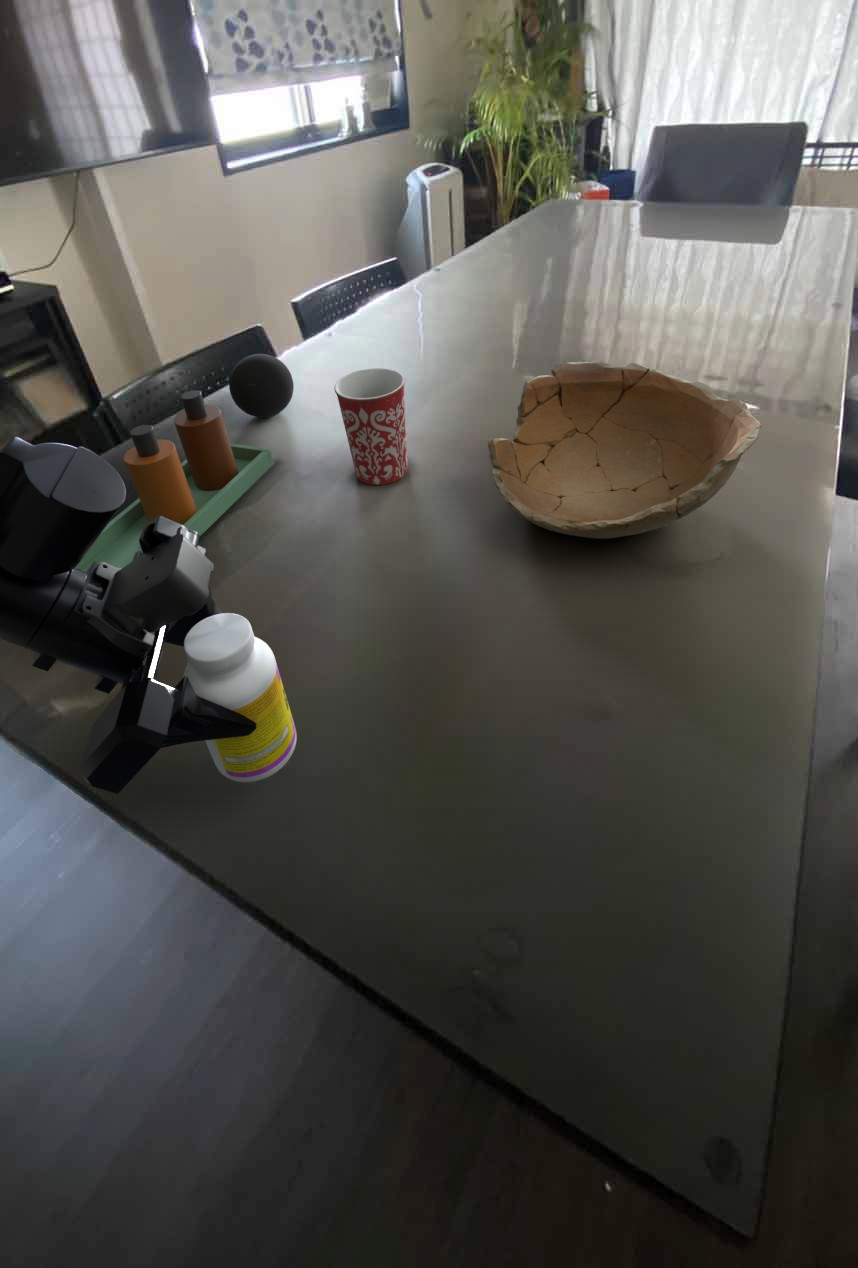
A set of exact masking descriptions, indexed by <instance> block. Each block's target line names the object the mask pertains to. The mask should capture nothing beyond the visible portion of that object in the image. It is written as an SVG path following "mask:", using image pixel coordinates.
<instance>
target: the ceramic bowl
mask: <svg viewBox="0 0 858 1268" xmlns="http://www.w3.org/2000/svg"><path fill="white" fill-rule="evenodd" d="M550 370H551V375H547V374H545V375H544V374H543V375H537V376H534V377H533V378H531V379H529V380H527V381H525V383H524V385H523V386H522V392H521V396H520V403H519V404H518V406H517V407H516V408H517V417H516V420H515V421H516V425H515V428H514V434H513V440H512V439H510V438H505V437H500V438H497V437H494V438H492V439H488V440H487V448H488V450H489V459H490V464H491V466H492V468H491V470H492V477H493V480H494V481H493V482H494V485H495V487H496V489H497V491H498V493H499V495H500V496H501V498H502V500H503V501H504V502H505V504H507V505H508V507H509V508H511V509H512V510H513V511H514V512H516V514H518V515H519V516H521V517H522V518H524V519H525V520H527V521H529V522H530V523H532V524H534V525H536V526H538V527H541V528H544V529H545V530H548V531H550V532H551V531H552V532H556V533H559V534H563V535H567V536H575V537H580V538H589V539H615V538H621V537H628V536H634V535H638V534H643V533H646V532H649V531H653V530H657V529H659V528H666V527H667V526H668V525H670V524H672V523H674V522H676V521H678V520H680V519H681V518H684V517H687V516H688V515H690V514H691V513H693V512H694V511H696V510H697V509H699V508H701V507H702V506H703V505H706V503H707V502H708V501H710V500H711V499H712V498H714V496H716V495H717V493H719V491H720V490H721V489H722V488H723V487H724V486H725V485H726V484H727V482H728V481H729V480H730V478H731V477H732V475H733V474H734V472H735V471H736V469H737V466H738V465H739V463H740V461H741V458H742V455H744V454H745V453H746V452H747V451H748V450H749V449H750V448H751V447H752V446H753V445H755V443H756V442H757V440H758V436H759V431H760V430H761V428H762V427H763V425H762V424H761V422H760V421H759V420H758V419H757V418H755V417H754V416H753V415H752V413H751V411H750V410H749V409H748V405H747V404H746V403H745V401H742V400H740V399H732V400H730V399H724V398H722V397H721V396H717V394H716V392H714V390H713V388H711V387H710V386H708V385H707V384H705V383H703V382H701V381H690V380H687V379H684V378H680V377H678V376H676V375H673V374H670V373H667V372H664V371H662V370H659V369H655V368H651V367H649V366H646V365H644V364H641V363H638V362H631V363H628V364H624V365H620V366H616V365H613V364H611V363H610V364H609V363H607V362H589V361H570V362H569V361H567V362H566V361H565V362H560V363H557V364H555V365H553V367H551V369H550Z"/></svg>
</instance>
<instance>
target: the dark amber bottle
mask: <svg viewBox="0 0 858 1268" xmlns="http://www.w3.org/2000/svg"><path fill="white" fill-rule="evenodd" d="M180 400H181V403H182V406H183V410H182V411H180V412H178V413H177V414H176V415H175V416H174V418H173V422H174V425H175V430H176V432H177V435H178V438H179V441H180V443H181V446H182V450H183V453H184V455H185V458H186V459H187V462H188V465H189V468H190V471H191V474H192V477H193V480H194V483H195V485H196V487H197V488H198V489H200V490H204V491H215V490H220V489H222V488H223V487H225V486H226V485H227V484H228V483H229V482H230V481H231V480H232V479H233V478H234V477H235V476H236V475H237V474H238V470H237V466H236V463H235V459H234V456H233V453H232V449H231V446H230V443H231V442H230V440H229V439H230V438H229V436H228V435H229V434H228V432H227V428H226V425H225V421H224V418H223V414H222V411H221V409H220V407H218V406H216V405H212V404H205V400H204V398H203V394H202V392H201V391H200V390H198V389H197V390H195V389H194V390H188V391H186V392H183V393H182V394H181V395H180ZM186 459H185V460H186Z"/></svg>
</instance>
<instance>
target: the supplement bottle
mask: <svg viewBox="0 0 858 1268" xmlns="http://www.w3.org/2000/svg"><path fill="white" fill-rule="evenodd" d="M183 649H184V653H185V655H186V659H187V664H186V665H185V668H184V670H183V676H182V678H183V677H184V676H187V677H188V679H189V681H190V683H191V685H192V687H193V689H194V692H195V693H196V695H198V696H199V697H202V698H204V699H206V700H209V701H211V702H214V703H216V704H218V705H221V706H223V707H225V708H228V709H230V710H232V711H235V712H237V713H239V714H242V715H243V716H245V717H247V718H249V719H250V720H252V721H254V722H255V723H256V724H257V726H256V729H255V730H254V731H253V732H252V733H251V734H250V735H248V736H241V737H232V738H223V739H214V740H205V741H204V742H205V744H206V746H207V749H208V752H209V754H210V756H211V758H212V761H213V763H214V765H215V768H216V769H217V770H218V772H219V773H220V774H221V775H222V776H224V777H225V778H227V779H229V780H231V781H233V782H238V783H254V782H258V781H259V782H260V781H262V780H264V779H265V780H266V779H267V778H269V777H271V776H273V775H274V774H276V773H277V772H279V771H280V770H281V769H282V768H283V767H284V766H285V765H286V764H287V763H288V761H289V760H290V759H291V757H292V755H293V753H294V752H295V749H296V745H297V738H298V737H297V729H296V725H295V722H294V718H293V714H292V711H291V708H290V705H289V701H288V698H287V694H286V691H285V687H284V684H283V681H282V677H281V674H280V671H279V668H278V663H277V661H276V657H275V655H274V651H273V650H272V649H271V647H270V646H269V645H268V644H267V642H265V641H264V640H262V639H261V638H259V637H256V636H255V634H254V631H253V628H252V625H251V623H250V621H249V620H248V619H247V618H246V617H244V616H242V615H241V614H237V613H231V612H223V613H222V614H217V615H213V616H210V617H208V618H205V619H203V620H202V621H200V622H199V623H197V624H196V625H195V626H194V627H192V628H191V630H190V631H189V632H188V634H187V635H186V637H185V640H184V647H183Z"/></svg>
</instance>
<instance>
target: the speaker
mask: <svg viewBox="0 0 858 1268" xmlns="http://www.w3.org/2000/svg"><path fill="white" fill-rule="evenodd" d="M294 386H295V385H294V379H293V376H292V373H291V371H290V370H289V368H288V367H287V366H286V364H285V363H284V362H283V361H281V360H280V359H279V358H277V357H275V356H273V355H270V354H267V353H253V354H249V355H247V356H245V357H243V358H242V359H240V360H239V361H238V362H237V363H236V364H235V365H234V367H233V368H232V371H231V373H230V376H229V381H228V388H229V393H230V396H231V399H232V400H233V402H234V404H235V405H236V406H237V407H238V408H239V410H241V411H242V412H244V413H245V414H247V415H249V416H252V417H255V418H270V417H273V416H276V415H278V414H279V413H282V412H283V411H284V410H285V409H286V408H287V407H288V405H289V404H290V402H291V400H292V399H293V395H294V389H295V387H294Z"/></svg>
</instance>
